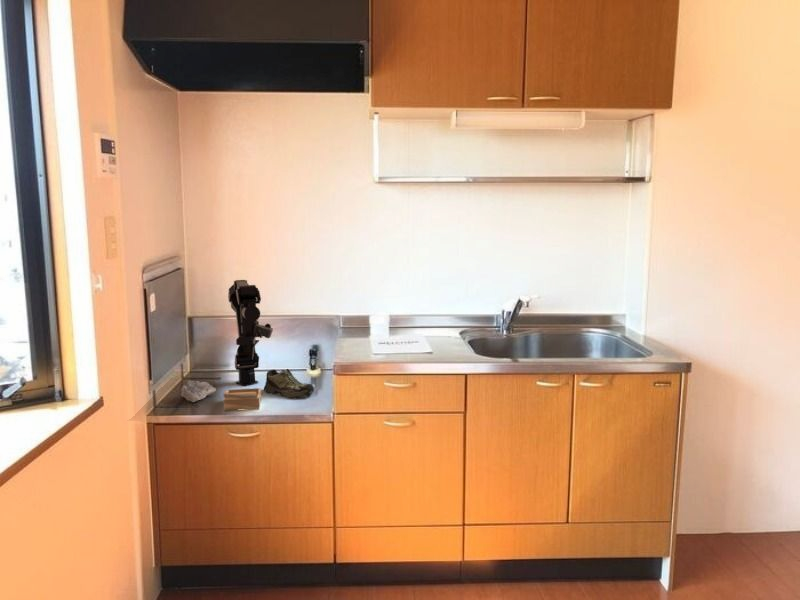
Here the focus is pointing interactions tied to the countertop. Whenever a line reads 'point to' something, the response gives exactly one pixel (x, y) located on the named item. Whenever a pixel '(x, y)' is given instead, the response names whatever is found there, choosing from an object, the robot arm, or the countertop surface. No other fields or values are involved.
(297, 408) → the countertop surface
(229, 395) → the flap
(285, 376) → the hiking shoe
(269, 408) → the countertop surface
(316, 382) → the countertop surface
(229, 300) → the robot arm
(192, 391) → the rock
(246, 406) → the carton
